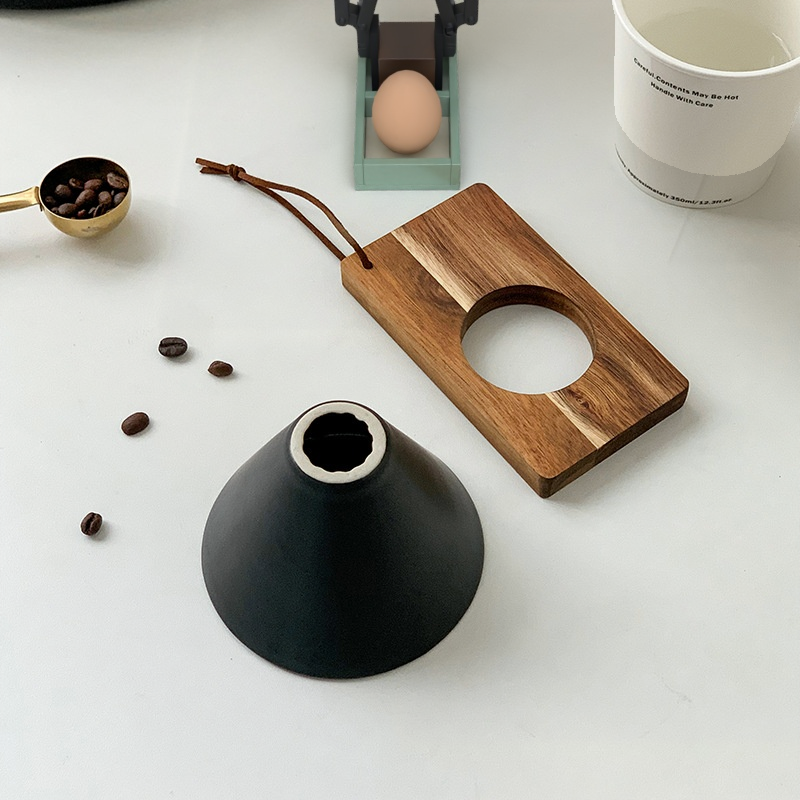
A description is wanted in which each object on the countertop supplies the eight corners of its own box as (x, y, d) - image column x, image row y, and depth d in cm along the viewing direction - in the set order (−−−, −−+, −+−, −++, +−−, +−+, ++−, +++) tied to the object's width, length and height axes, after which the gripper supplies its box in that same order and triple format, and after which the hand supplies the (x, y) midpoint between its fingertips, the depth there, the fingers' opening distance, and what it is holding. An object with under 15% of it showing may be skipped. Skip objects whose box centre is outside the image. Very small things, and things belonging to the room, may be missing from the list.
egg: (451, 133, 106) (453, 63, 100) (424, 178, 103) (425, 109, 97) (390, 114, 108) (388, 44, 101) (361, 158, 105) (358, 89, 98)
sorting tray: (455, 55, 113) (456, 28, 111) (459, 189, 104) (460, 164, 101) (360, 55, 114) (358, 29, 111) (355, 190, 104) (353, 164, 101)
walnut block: (433, 64, 112) (434, 21, 108) (434, 102, 109) (435, 58, 105) (380, 65, 112) (379, 21, 108) (379, 102, 109) (378, 59, 105)
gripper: (284, -126, 89) (307, 109, 108) (526, -128, 89) (506, 109, 108) (289, -183, 93) (311, 54, 112) (521, -185, 93) (503, 53, 112)
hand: (407, 80), depth 110 cm, fingers closed on walnut block, 5 cm apart
